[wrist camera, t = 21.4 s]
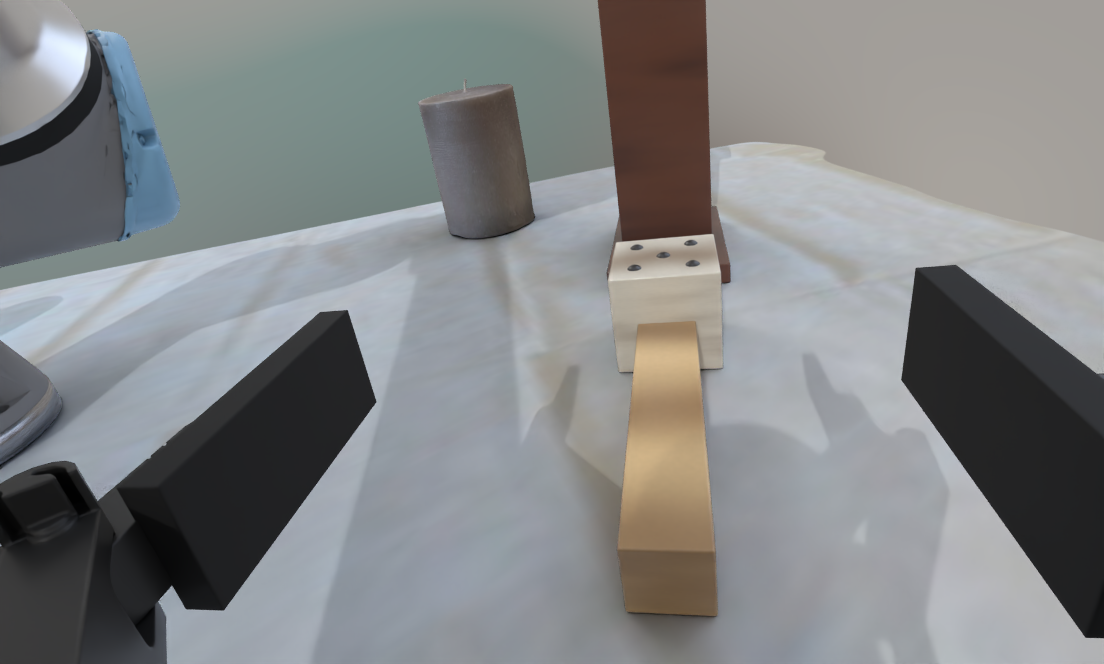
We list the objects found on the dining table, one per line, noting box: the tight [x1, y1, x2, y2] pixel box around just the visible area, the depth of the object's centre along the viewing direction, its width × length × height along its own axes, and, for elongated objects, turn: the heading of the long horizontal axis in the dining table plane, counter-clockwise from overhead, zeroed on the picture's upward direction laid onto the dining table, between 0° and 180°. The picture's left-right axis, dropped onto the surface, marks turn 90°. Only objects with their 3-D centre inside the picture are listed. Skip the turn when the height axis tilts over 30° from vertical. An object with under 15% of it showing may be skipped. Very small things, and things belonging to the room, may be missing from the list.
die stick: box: [608, 234, 723, 616], centre depth 29 cm, size 22×6×6 cm, turn 171°
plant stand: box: [598, 0, 730, 289], centre depth 45 cm, size 14×9×28 cm, turn 171°
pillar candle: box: [418, 79, 535, 239], centre depth 63 cm, size 10×10×15 cm
